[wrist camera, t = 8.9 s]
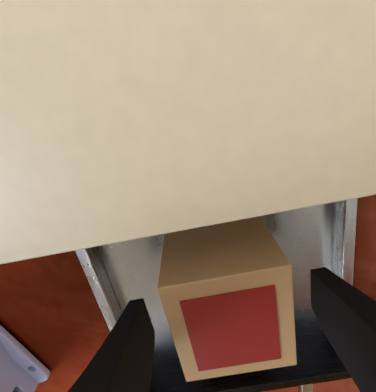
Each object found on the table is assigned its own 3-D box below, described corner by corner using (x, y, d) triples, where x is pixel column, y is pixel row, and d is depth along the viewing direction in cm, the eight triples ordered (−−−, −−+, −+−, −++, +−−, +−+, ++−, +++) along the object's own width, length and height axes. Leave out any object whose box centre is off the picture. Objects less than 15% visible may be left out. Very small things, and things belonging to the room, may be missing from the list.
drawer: (361, 371, 18) (391, 417, 16) (127, 407, 19) (119, 456, 17) (385, 121, 12) (442, 131, 9) (26, 193, 13) (-13, 219, 10)
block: (268, 297, 15) (298, 367, 11) (184, 312, 15) (186, 384, 12) (260, 215, 13) (293, 266, 9) (163, 233, 13) (156, 290, 10)
